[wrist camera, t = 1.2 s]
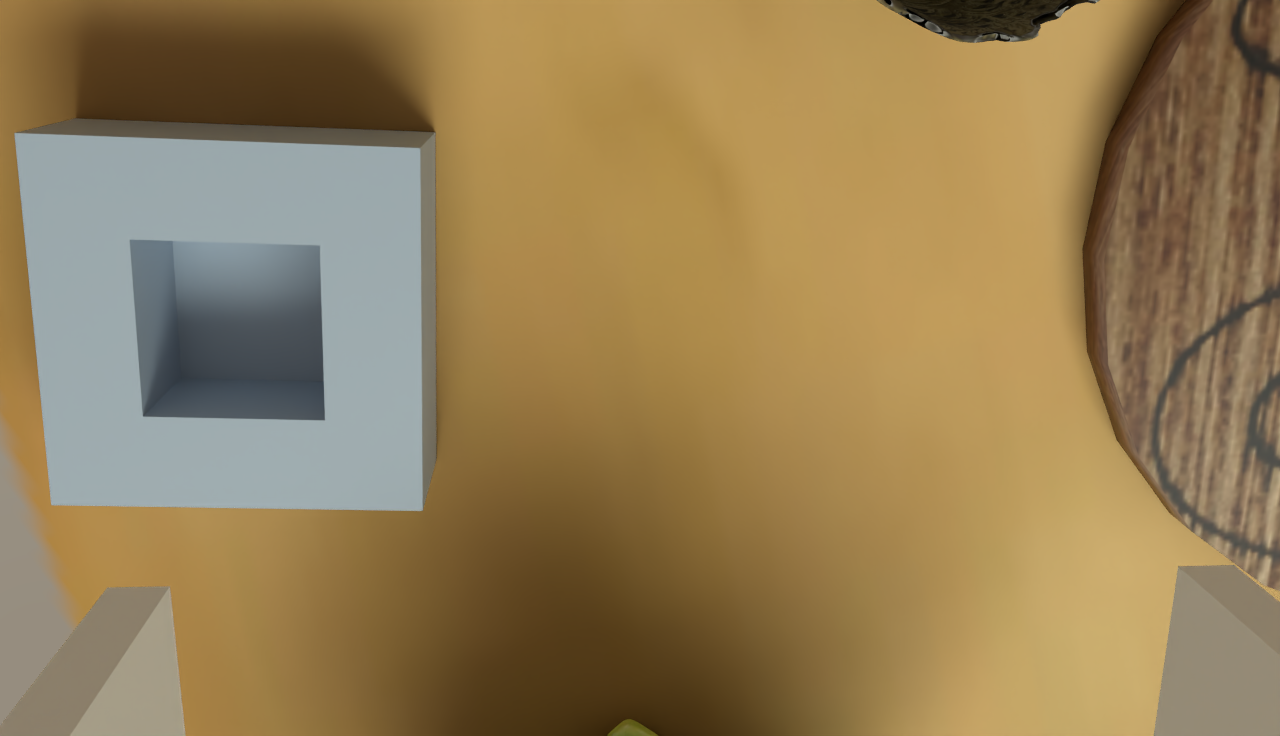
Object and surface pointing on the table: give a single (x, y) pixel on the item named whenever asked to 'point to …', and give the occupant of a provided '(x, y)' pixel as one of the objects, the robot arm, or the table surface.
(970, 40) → the ornate candle holder
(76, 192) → the bore block
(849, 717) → the table surface
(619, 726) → the flower pot
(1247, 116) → the trivet
